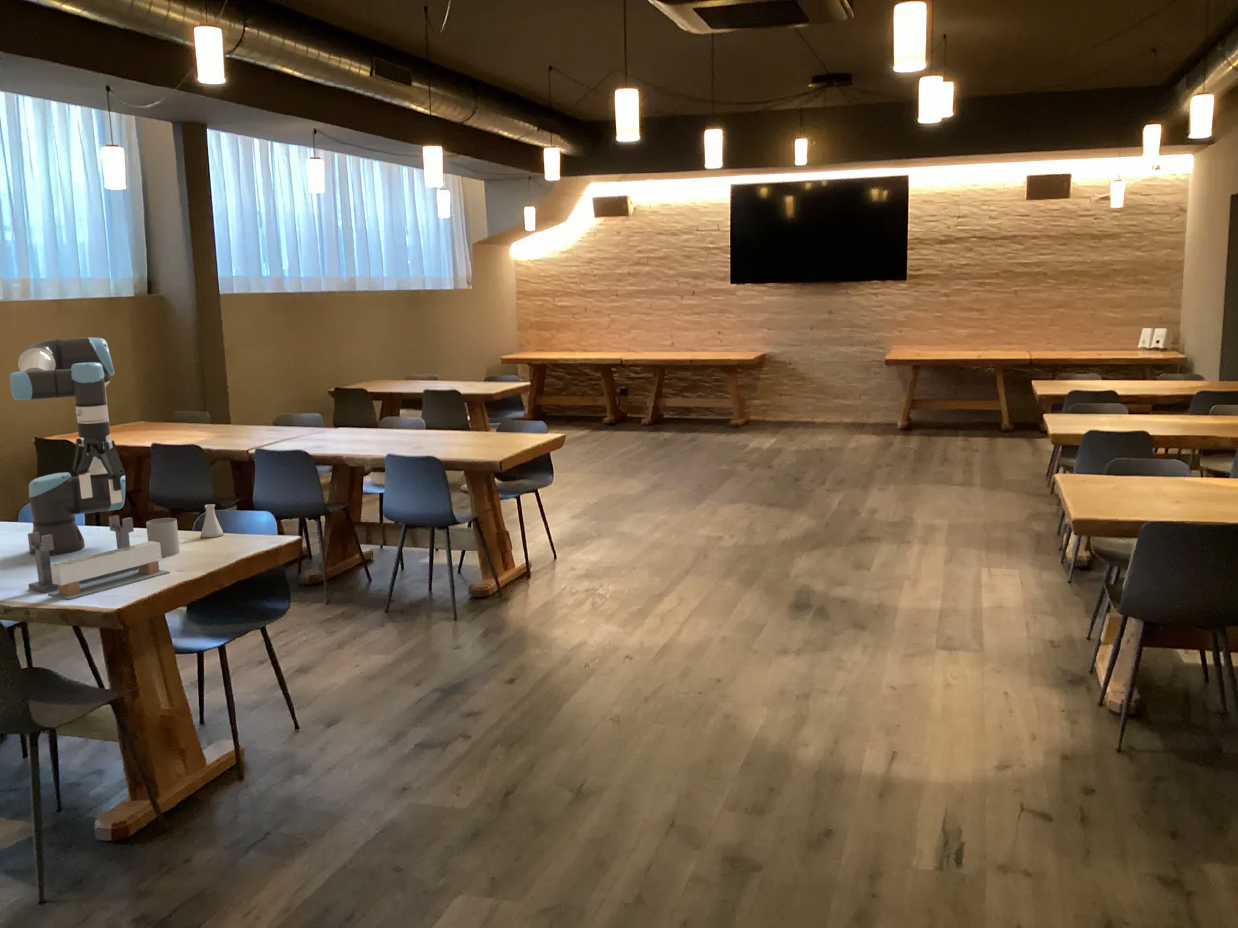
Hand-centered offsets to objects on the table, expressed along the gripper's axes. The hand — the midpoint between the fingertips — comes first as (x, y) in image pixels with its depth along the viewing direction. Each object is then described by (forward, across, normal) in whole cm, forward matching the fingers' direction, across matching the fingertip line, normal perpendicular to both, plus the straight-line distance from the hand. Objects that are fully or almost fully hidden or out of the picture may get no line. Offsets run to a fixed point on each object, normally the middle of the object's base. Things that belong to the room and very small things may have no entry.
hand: (101, 500), depth 284 cm
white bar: (+20, 0, 0) cm, 20 cm away
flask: (+24, -24, +50) cm, 60 cm away
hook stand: (+23, -11, 0) cm, 25 cm away
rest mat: (+23, 0, 0) cm, 23 cm away
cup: (+23, -17, +28) cm, 40 cm away
